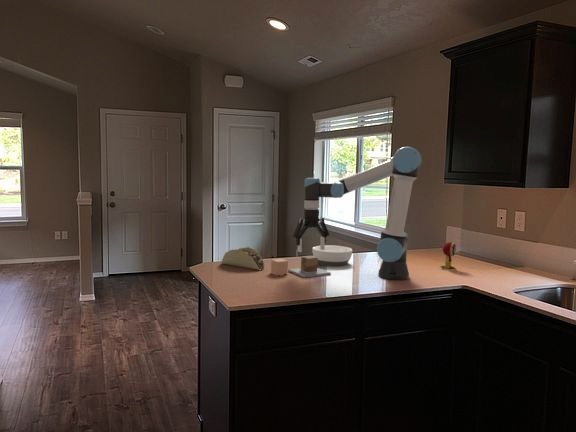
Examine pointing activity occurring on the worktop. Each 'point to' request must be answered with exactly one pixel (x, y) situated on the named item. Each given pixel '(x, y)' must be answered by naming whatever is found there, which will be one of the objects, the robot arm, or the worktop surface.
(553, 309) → the worktop surface
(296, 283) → the worktop surface
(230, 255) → the taco
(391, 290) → the worktop surface
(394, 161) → the robot arm
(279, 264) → the terracotta block
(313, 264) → the walnut block
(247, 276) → the worktop surface
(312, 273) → the board
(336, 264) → the bowl
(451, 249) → the figurine
